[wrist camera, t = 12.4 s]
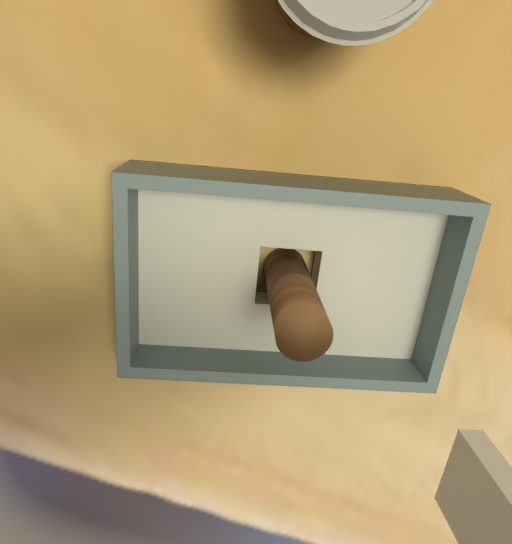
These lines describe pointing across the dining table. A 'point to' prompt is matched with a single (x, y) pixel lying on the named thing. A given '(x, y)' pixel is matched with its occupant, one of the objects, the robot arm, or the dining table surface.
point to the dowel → (296, 307)
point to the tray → (326, 274)
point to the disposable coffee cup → (352, 18)
